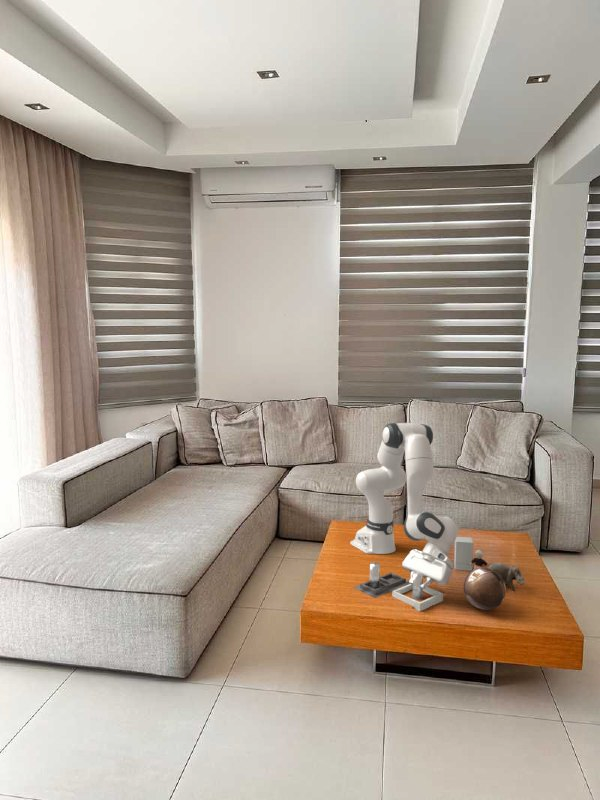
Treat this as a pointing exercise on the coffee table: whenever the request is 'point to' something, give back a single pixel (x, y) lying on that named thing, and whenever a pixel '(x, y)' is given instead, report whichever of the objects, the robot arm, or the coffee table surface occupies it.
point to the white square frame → (417, 605)
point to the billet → (417, 586)
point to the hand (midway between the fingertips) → (416, 586)
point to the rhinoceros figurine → (508, 573)
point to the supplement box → (463, 553)
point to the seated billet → (374, 575)
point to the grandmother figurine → (479, 560)
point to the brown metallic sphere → (484, 588)
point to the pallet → (383, 585)
